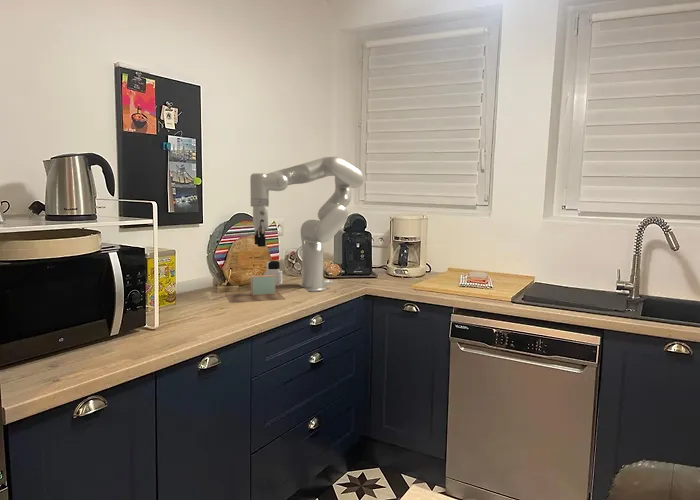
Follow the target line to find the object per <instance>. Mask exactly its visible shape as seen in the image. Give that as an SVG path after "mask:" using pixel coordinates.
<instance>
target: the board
mask: <svg viewBox="0 0 700 500" xmlns="http://www.w3.org/2000/svg"><path fill="white" fill-rule="evenodd" d="M224 295H225V296H226V298H227V300H228V302H229V303H230V304H235V303H236V304H238V303H251V302H252V303H253V302H265V301H267V302H268V301H282V300H286V298H285V297H284V296H283V295H281V293H280V292H278V291H277V290H276V294H275V295H259V296H251V292H245V293H243V292H241V293H225V294H224Z"/></svg>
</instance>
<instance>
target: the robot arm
mask: <svg viewBox="0 0 700 500" xmlns="http://www.w3.org/2000/svg"><path fill="white" fill-rule="evenodd" d="M327 177H334V183H335V184H334V187H335V188H334V192H333V194H332V195H331V196H330V197H329V198H328V199H327V200H326V202H325V203H323V205H322V206H321V207H320V208H319V210H318V212H317V218H318V219H308V220H306V221H304V222H303V223H302V225H301V227H300V240H301V248H302V249H301V250H302V253H301V255H302V257H301V260H302V261H301V263H302V264H301V285H300V287H302V288H303V289H304V290H306V291H307V292H309V293H310V292H312V293H313V292H323V291H325V290H327V286H328V285H329V286H330V285H333V284H334V280H332V279H331V280H329V279H324V246H323V244H325V243H327V242H329V241H331V240H332V239H333V238H334V237H335V235H336V234H337V233H338V232H339V231H340V230H341V229H342V228H343V227H344V225H345V224H346V223H347V221H348V218H349V211H348V209H347V207H348V206H349V204H350V202H351V200H352V189H357V188H360V187H361V186H362V185H363V184H364V181H365V178H364V173H363V172H362V171H361V169H359V168H357V167H356V166H354V165H352V164H351V163H349V162H348V161H346V160H345V159H343V158H341V157H338V156H326V157H325V156H324V157H321V158H317V159H315V160H311V161H307V162H303V163H301V164H297V165H294V166H290V167H286V168H281V169H279V170H275V171H272V172H268V173H256V172H255V173H252V174H250V183H249V184H250V207H252V227H253V229H254V246H255V245H256V246H257V247H266V246H267V245H266V231H268V230H269V215H268V213H269V212H268V208H269V205H270V204H269V203H270V201H269V199H270V197H269V196H270V195H269V192H273V191H274V192H282V191H285V190H286V189H287V188H288V186H291V185H302V184H308V183H312V182H314V181H317V180H320V179H323V178H327Z"/></svg>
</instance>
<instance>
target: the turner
mask: <svg viewBox="0 0 700 500" xmlns="http://www.w3.org/2000/svg"><path fill="white" fill-rule="evenodd" d="M216 292H217V293H232V292H233V293H234V292H240V286H239V285H227V286H216Z"/></svg>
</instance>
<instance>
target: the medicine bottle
mask: <svg viewBox="0 0 700 500" xmlns="http://www.w3.org/2000/svg"><path fill="white" fill-rule="evenodd" d="M280 268H281V263H280V261H278V260H269V261H267V262H266V268H265V269H266V271H264V273H263V275H275V276H276V286H277V287H279V286H280V285H282V284H283V270H280Z"/></svg>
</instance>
